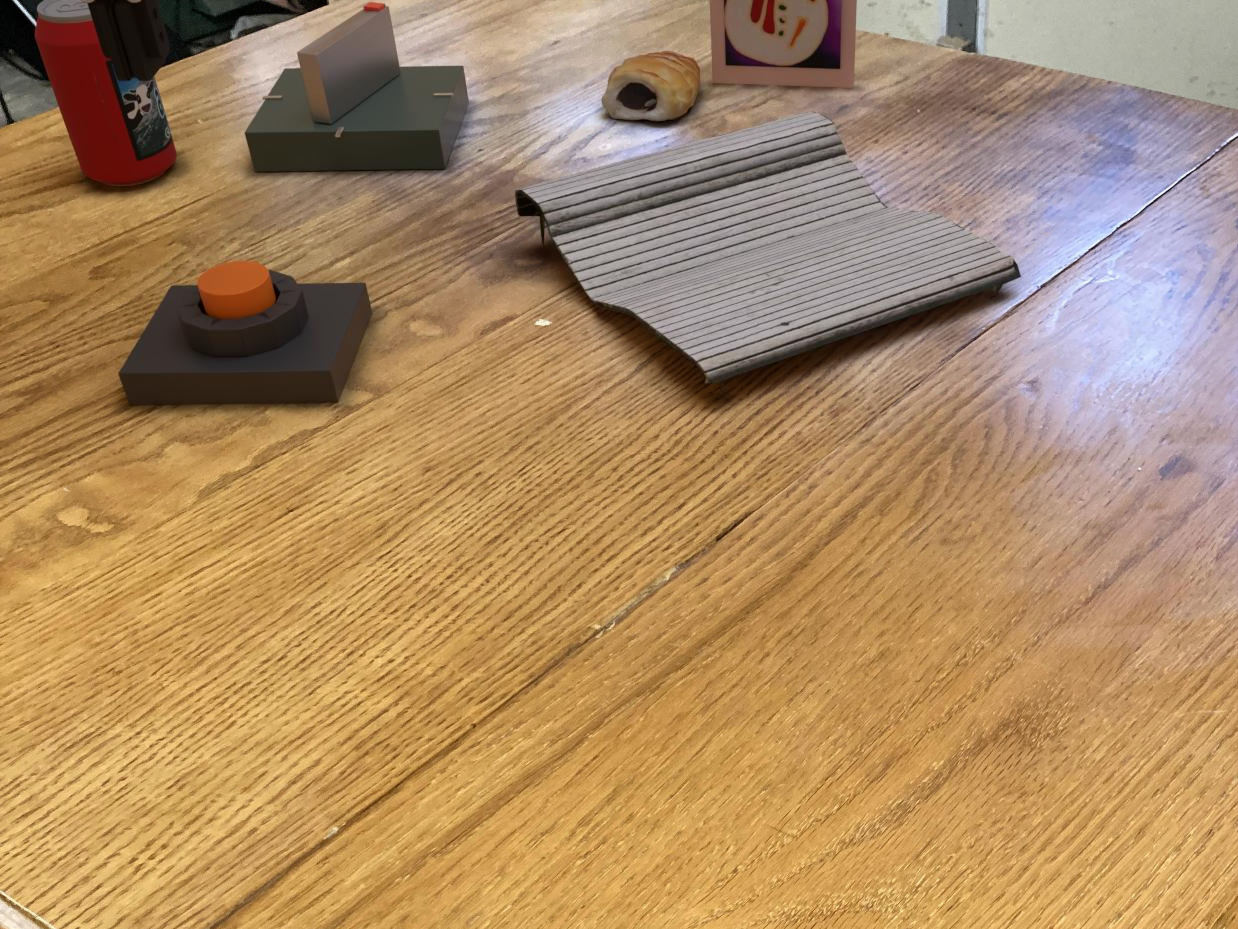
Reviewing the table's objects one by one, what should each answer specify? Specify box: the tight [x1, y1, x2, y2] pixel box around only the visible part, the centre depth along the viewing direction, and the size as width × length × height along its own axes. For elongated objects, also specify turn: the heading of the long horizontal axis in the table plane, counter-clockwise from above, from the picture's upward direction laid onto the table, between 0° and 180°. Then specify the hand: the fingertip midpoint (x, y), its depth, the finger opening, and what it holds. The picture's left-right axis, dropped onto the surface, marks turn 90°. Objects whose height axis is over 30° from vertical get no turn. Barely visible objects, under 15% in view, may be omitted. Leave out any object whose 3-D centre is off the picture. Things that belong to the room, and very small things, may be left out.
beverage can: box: [34, 0, 178, 187], centre depth 100 cm, size 7×7×12 cm
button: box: [196, 260, 276, 319], centre depth 82 cm, size 4×4×2 cm
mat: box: [514, 111, 1022, 398], centre depth 91 cm, size 23×24×5 cm
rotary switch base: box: [244, 65, 470, 173], centre depth 107 cm, size 14×14×3 cm
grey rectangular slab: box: [296, 1, 401, 124], centre depth 105 cm, size 10×2×5 cm, turn 160°
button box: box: [117, 269, 373, 406], centre depth 84 cm, size 12×10×4 cm
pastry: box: [600, 50, 701, 122], centre depth 111 cm, size 9×7×4 cm
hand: (142, 70), depth 76 cm, fingers closed
